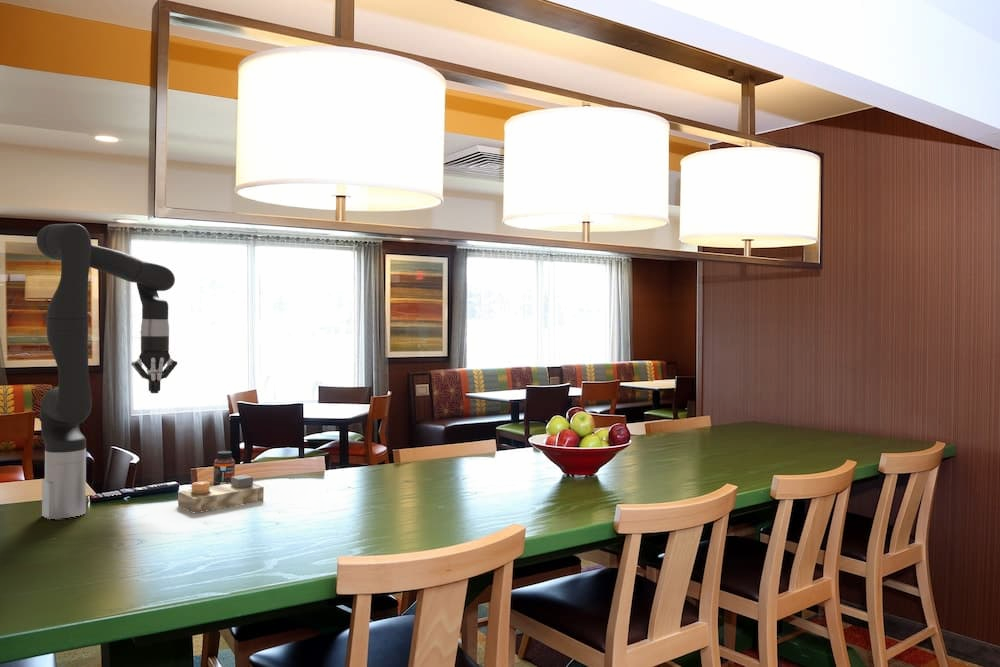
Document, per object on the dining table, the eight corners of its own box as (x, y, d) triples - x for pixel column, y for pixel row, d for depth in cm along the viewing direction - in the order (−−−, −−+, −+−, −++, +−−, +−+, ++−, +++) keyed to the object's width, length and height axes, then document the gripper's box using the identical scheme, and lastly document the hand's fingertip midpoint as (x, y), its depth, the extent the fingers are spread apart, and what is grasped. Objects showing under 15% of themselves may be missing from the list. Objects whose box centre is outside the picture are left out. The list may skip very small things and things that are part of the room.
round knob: (195, 509, 200) (196, 486, 200) (188, 506, 204) (188, 483, 203) (212, 506, 204) (212, 483, 203) (204, 503, 207) (205, 480, 207)
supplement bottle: (227, 492, 221) (227, 454, 220) (209, 490, 222) (209, 453, 221) (238, 487, 226) (238, 450, 226) (220, 486, 228) (221, 449, 227)
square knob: (238, 502, 209) (238, 479, 209) (230, 498, 212) (231, 476, 212) (252, 499, 212) (253, 477, 212) (245, 496, 215) (245, 474, 215)
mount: (194, 513, 197) (194, 498, 197) (178, 506, 204) (178, 491, 204) (263, 500, 212) (263, 486, 212) (246, 494, 219) (246, 480, 218)
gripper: (136, 335, 212) (136, 395, 212) (182, 335, 221) (182, 392, 222) (126, 334, 217) (126, 393, 218) (172, 334, 227) (171, 390, 227)
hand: (154, 393), depth 220 cm, fingers closed
